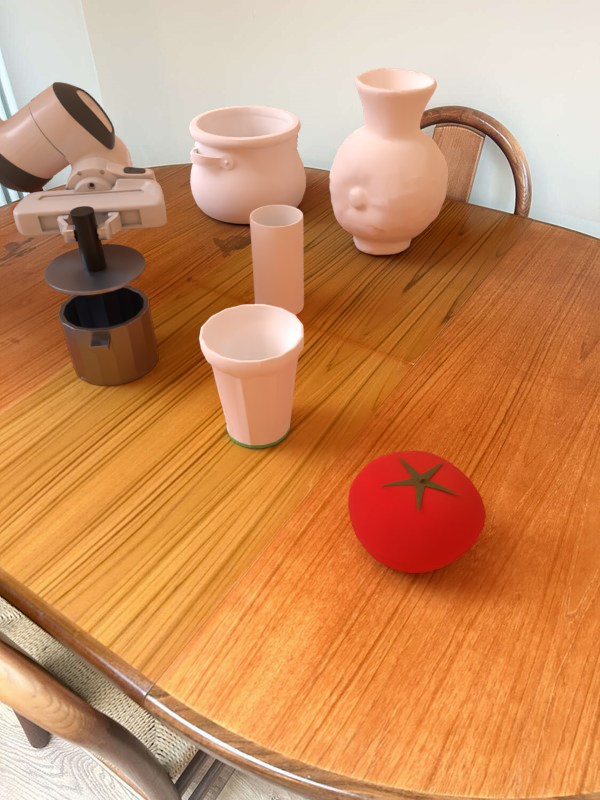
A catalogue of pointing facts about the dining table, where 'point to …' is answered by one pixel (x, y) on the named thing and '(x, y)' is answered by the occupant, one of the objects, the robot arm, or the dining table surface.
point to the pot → (245, 161)
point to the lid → (93, 261)
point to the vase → (389, 164)
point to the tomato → (415, 511)
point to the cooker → (110, 336)
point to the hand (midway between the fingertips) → (86, 236)
